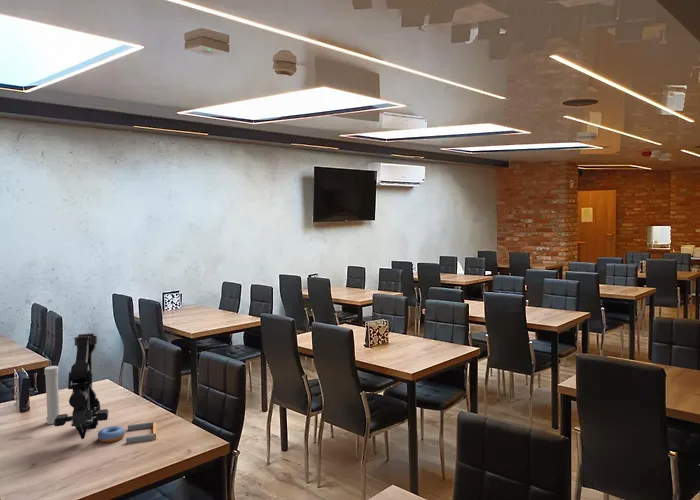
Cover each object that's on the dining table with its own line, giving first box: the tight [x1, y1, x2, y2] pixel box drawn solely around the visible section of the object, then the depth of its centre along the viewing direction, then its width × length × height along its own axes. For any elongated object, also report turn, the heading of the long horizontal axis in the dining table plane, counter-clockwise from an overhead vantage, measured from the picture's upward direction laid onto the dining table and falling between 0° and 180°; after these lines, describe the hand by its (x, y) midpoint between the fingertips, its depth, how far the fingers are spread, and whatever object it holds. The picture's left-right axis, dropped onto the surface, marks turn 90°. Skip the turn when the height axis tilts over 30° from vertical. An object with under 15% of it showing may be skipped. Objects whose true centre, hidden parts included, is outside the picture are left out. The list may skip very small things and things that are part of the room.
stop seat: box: [125, 421, 157, 444], centre depth 222 cm, size 11×15×2 cm
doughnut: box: [97, 425, 125, 443], centre depth 218 cm, size 10×10×5 cm
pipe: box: [43, 355, 61, 425], centre depth 236 cm, size 6×6×30 cm
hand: (83, 438), depth 214 cm, fingers closed
